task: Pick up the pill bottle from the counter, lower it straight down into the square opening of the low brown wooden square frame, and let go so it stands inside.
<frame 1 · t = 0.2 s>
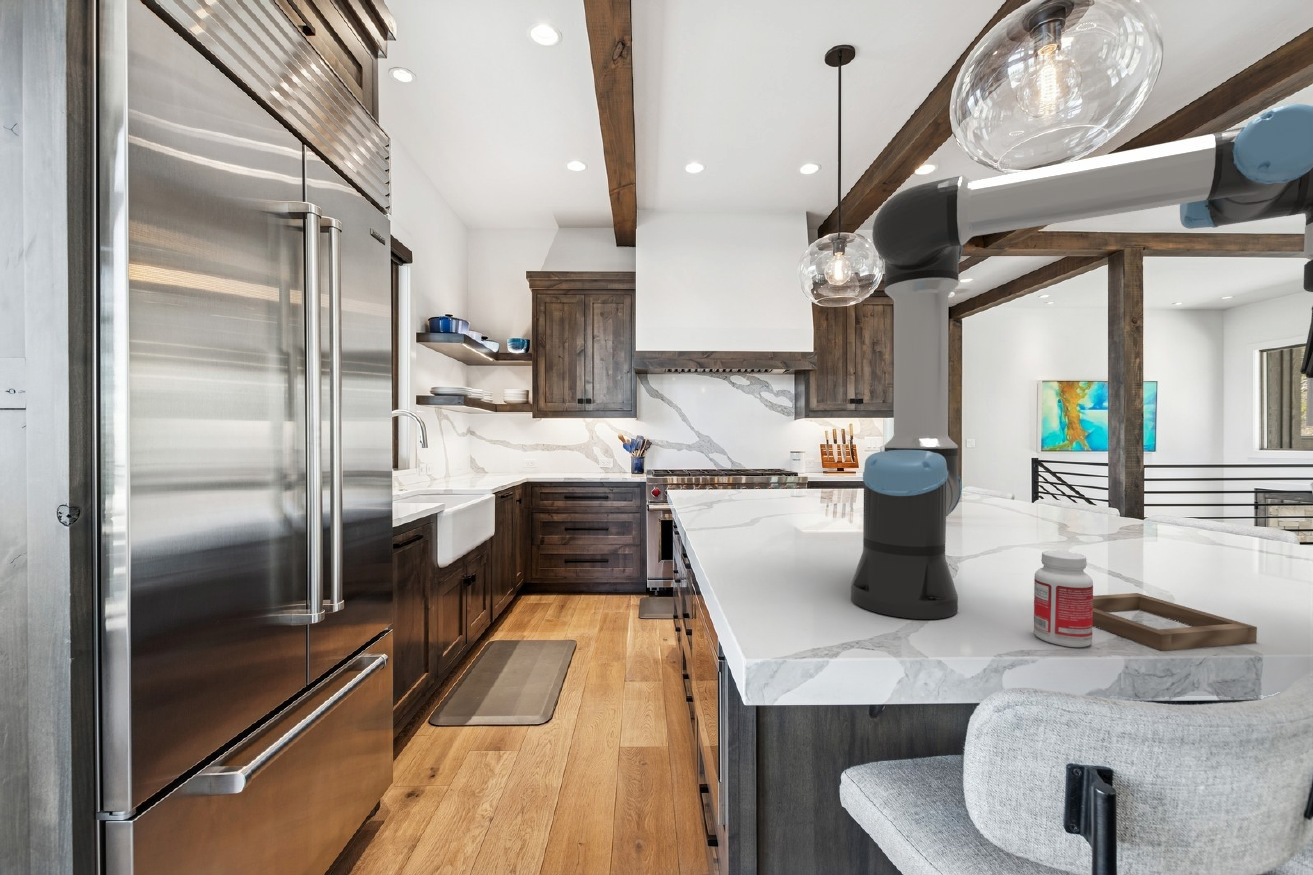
brown wooden square frame: (1147, 625, 79), on the countertop
pill bottle: (1061, 641, 74), on the countertop
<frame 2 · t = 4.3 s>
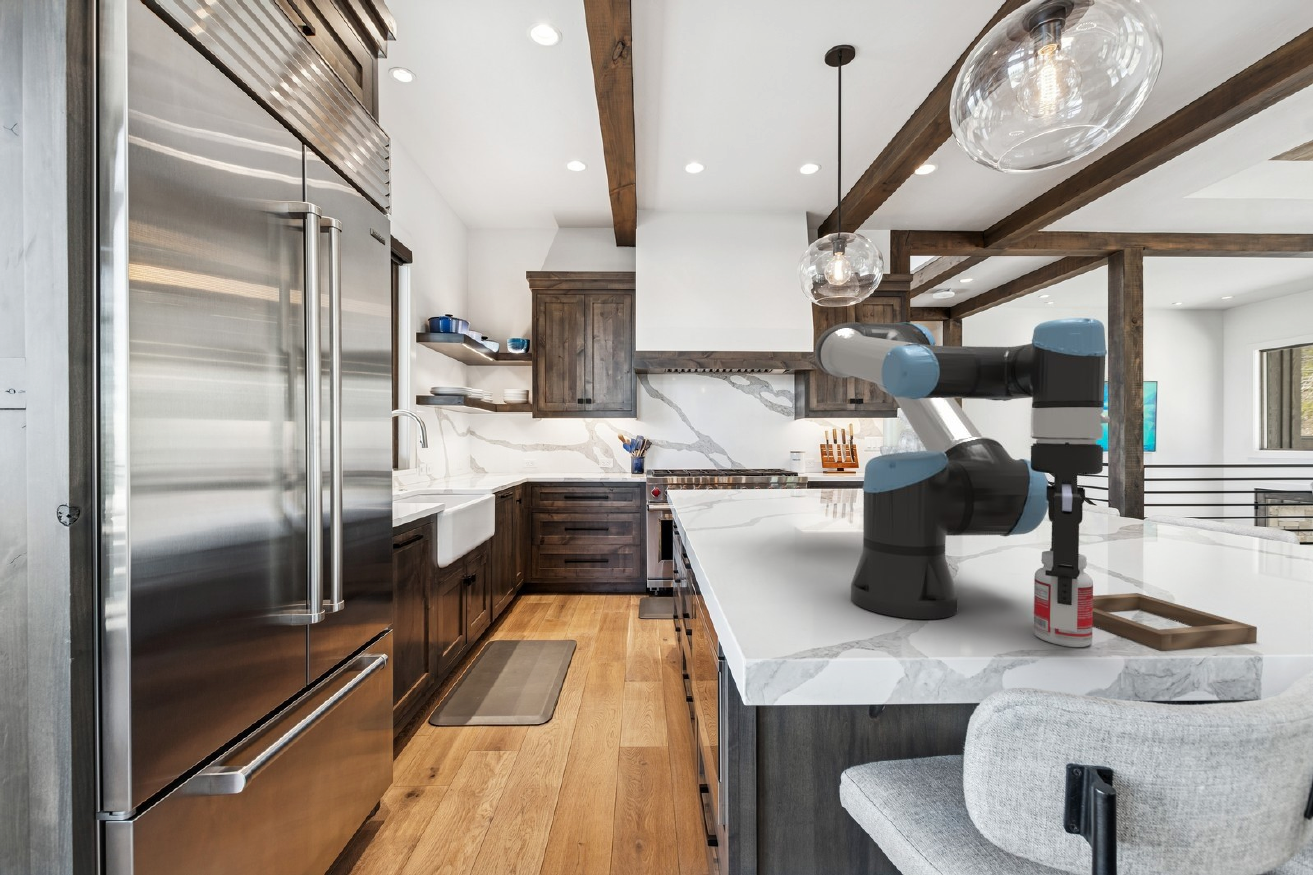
hand: (1062, 620, 74), 2 cm above the countertop, tool pointing down, fingers closed on pill bottle, 6 cm apart
pill bottle: (1061, 641, 74), on the countertop, touching gripper
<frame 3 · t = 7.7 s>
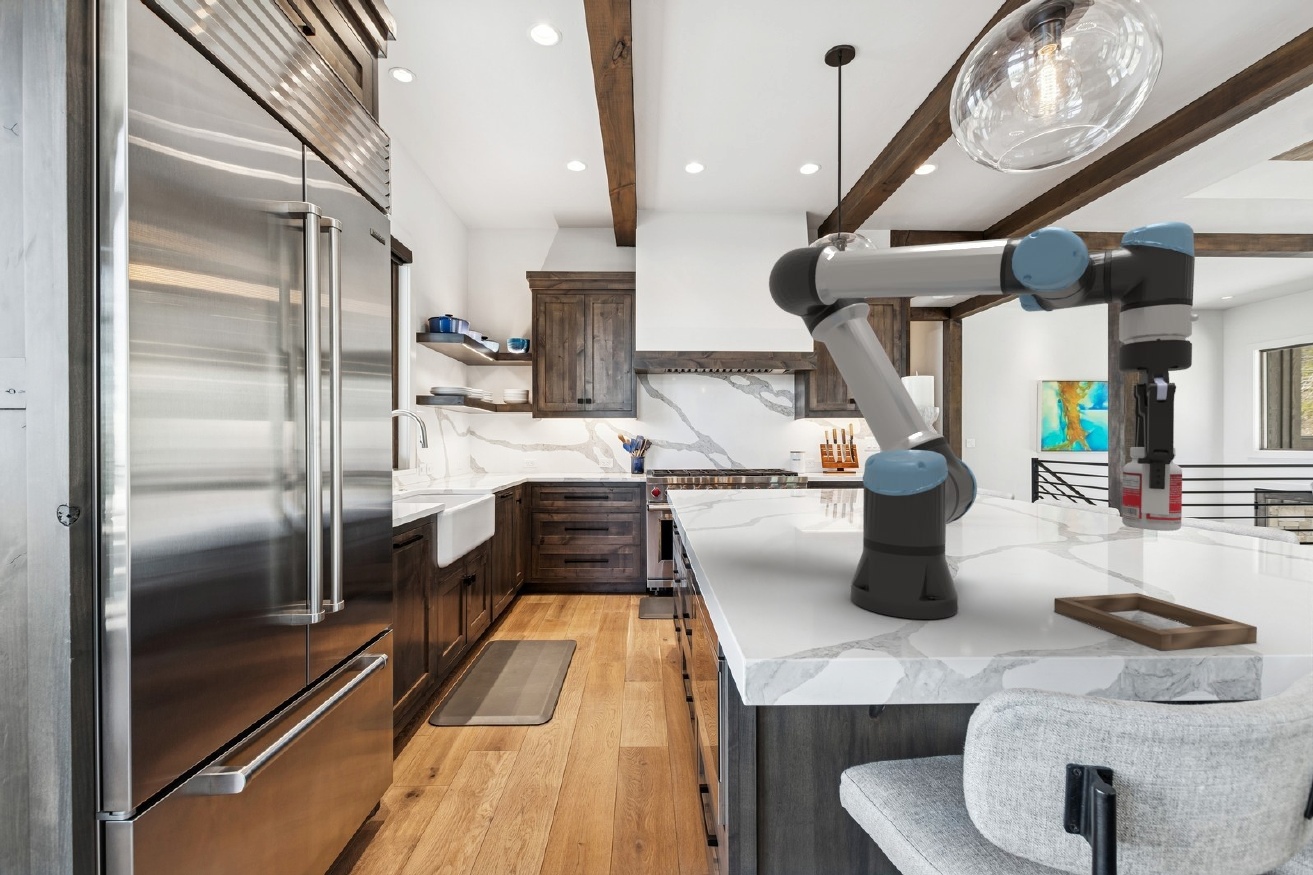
hand: (1150, 510, 79), 16 cm above the countertop, tool pointing down, fingers closed on pill bottle, 6 cm apart
pill bottle: (1150, 529, 79), point 13 cm above the countertop, touching gripper
when the fingers open (4 cm above the countertop, at t = 11.1 s): pill bottle drops 1 cm, resting in brown wooden square frame.
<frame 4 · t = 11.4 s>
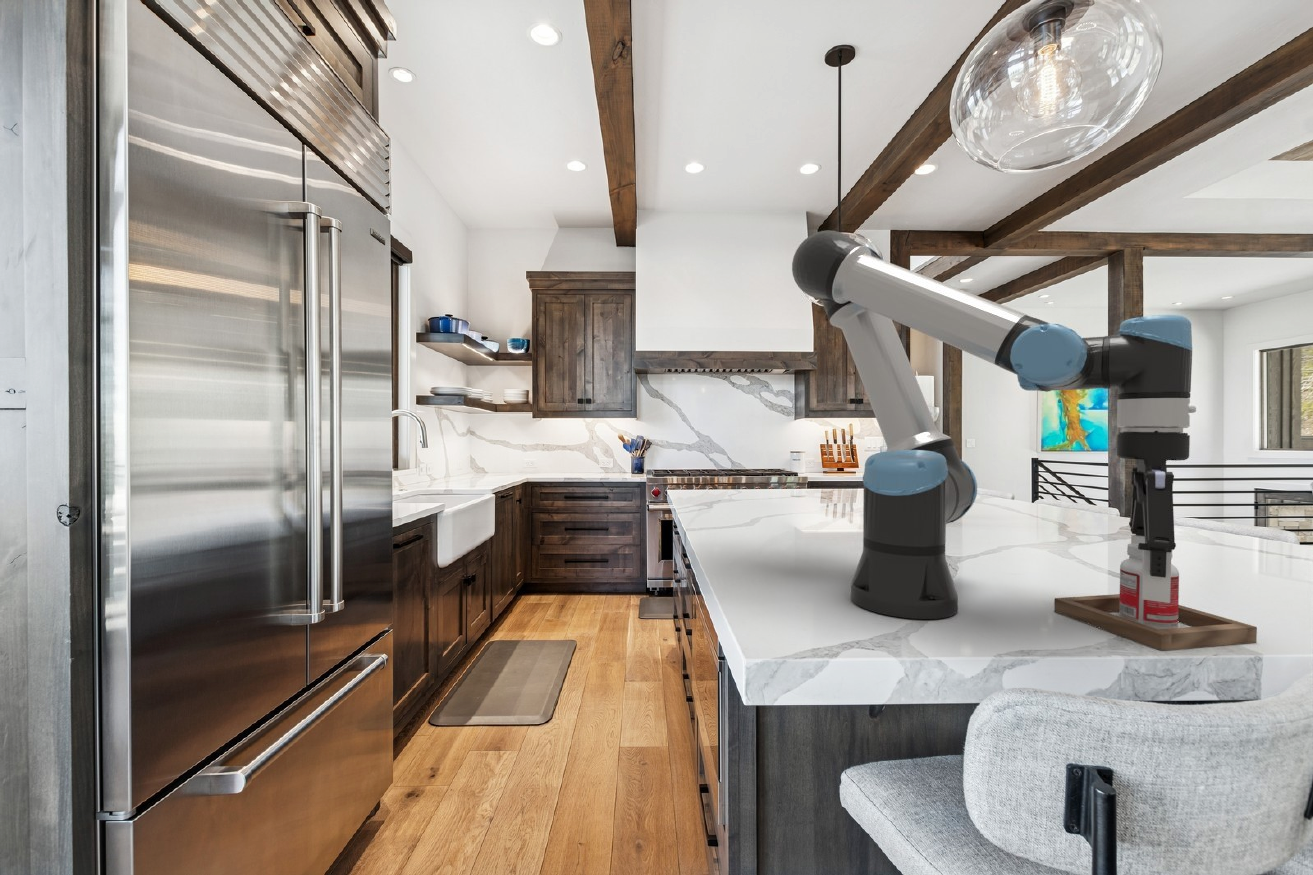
hand: (1148, 590, 79), 5 cm above the countertop, tool pointing down, fingers open, 11 cm apart
pill bottle: (1147, 627, 79), resting in brown wooden square frame
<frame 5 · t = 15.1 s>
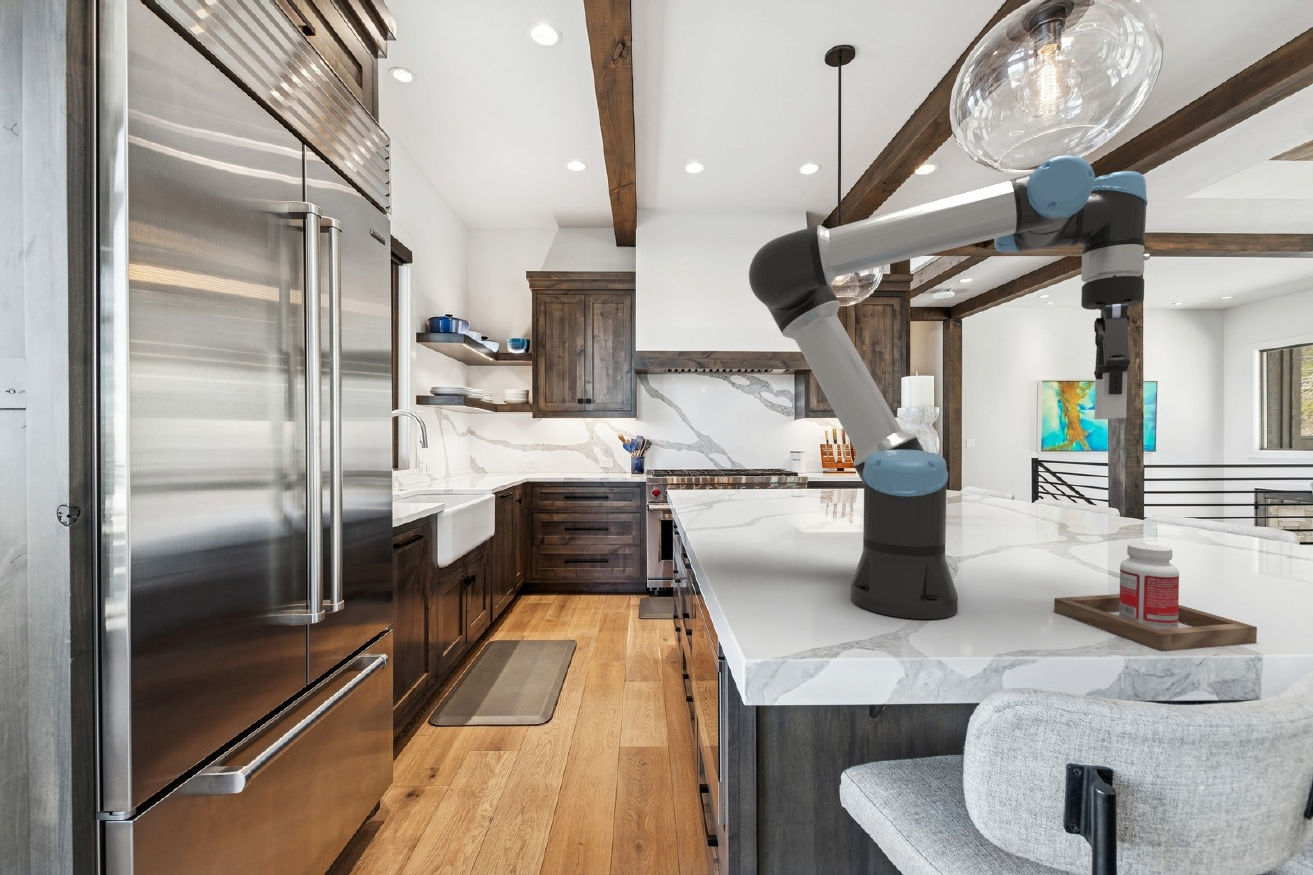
hand: (1109, 418, 88), 29 cm above the countertop, tool pointing down, fingers open, 13 cm apart
nothing on the countertop moved.
at the end: pill bottle 0.0 cm off-centre on the brown wooden square frame, point 0.0 cm above the brown wooden square frame's base; pill bottle tilted 0°; the gripper is holding nothing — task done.
